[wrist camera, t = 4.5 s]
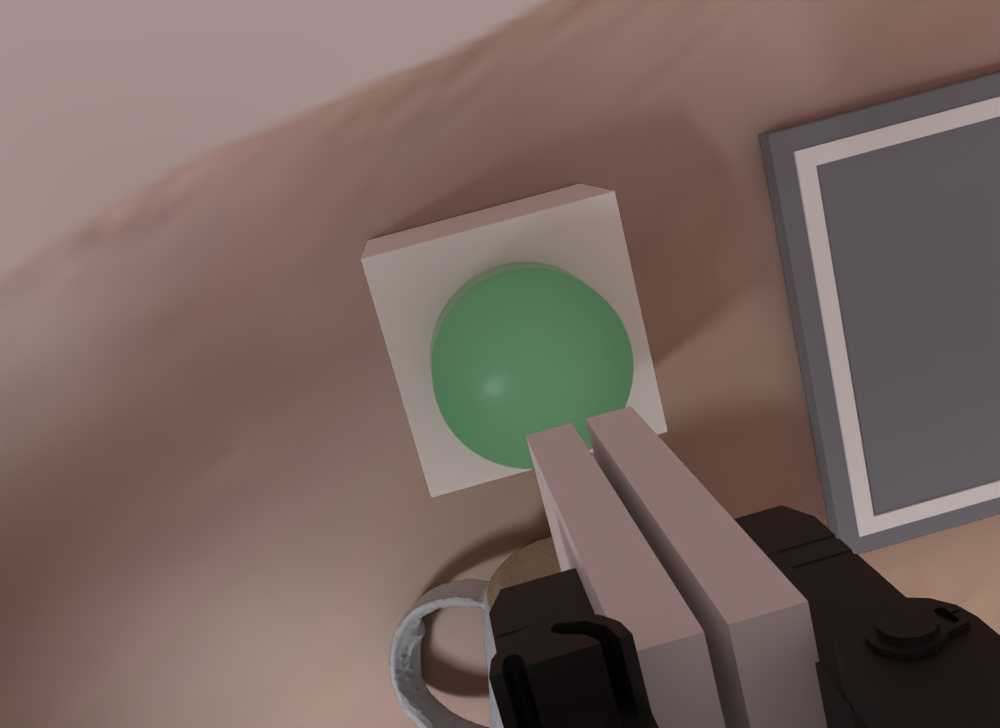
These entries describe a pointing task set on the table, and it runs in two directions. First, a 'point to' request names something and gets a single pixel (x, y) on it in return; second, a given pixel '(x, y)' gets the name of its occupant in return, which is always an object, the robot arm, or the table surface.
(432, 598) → the ceramic mug
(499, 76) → the table surface
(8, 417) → the table surface
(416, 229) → the button box
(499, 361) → the button
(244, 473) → the table surface
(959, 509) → the mat
